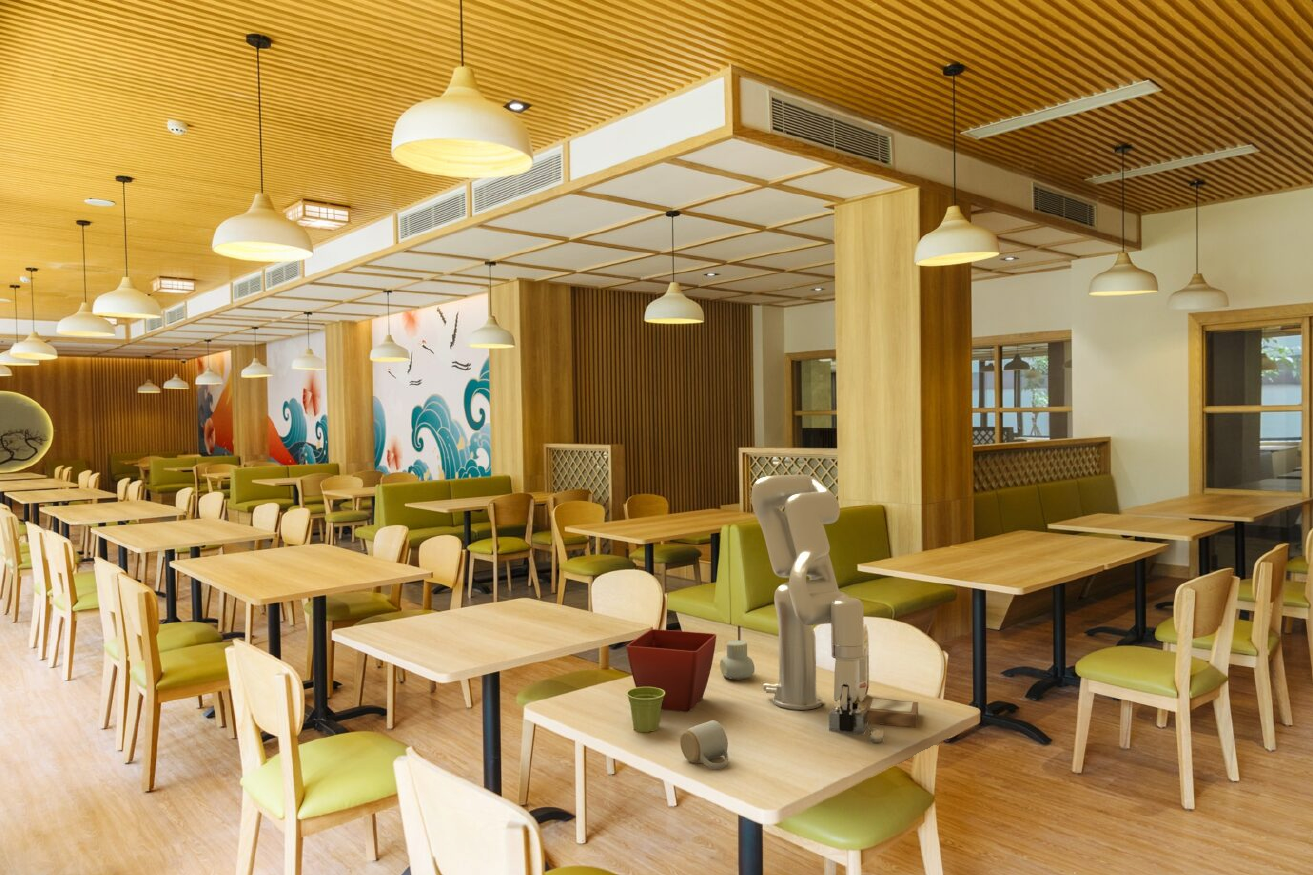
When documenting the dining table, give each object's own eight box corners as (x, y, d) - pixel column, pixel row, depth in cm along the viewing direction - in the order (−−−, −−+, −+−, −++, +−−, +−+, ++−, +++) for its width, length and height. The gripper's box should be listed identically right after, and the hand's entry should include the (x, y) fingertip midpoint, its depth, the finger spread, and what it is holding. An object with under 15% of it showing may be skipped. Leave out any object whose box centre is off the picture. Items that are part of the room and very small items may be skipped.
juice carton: (870, 694, 227) (869, 623, 227) (864, 703, 220) (863, 630, 219) (842, 690, 231) (841, 621, 230) (835, 700, 223) (834, 627, 223)
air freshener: (756, 681, 240) (756, 646, 240) (728, 683, 239) (728, 648, 239) (745, 671, 251) (745, 637, 251) (718, 672, 250) (718, 639, 250)
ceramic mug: (677, 758, 184) (677, 723, 184) (707, 749, 189) (707, 715, 189) (707, 774, 176) (707, 738, 176) (738, 765, 180) (738, 729, 180)
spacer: (869, 742, 192) (869, 732, 192) (870, 738, 195) (870, 727, 195) (882, 744, 191) (882, 733, 191) (884, 739, 194) (883, 729, 194)
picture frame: (864, 722, 205) (864, 708, 205) (868, 709, 215) (868, 696, 215) (916, 727, 201) (915, 713, 201) (918, 714, 211) (918, 701, 211)
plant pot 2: (697, 718, 210) (696, 650, 210) (625, 711, 216) (624, 645, 216) (718, 695, 228) (717, 633, 228) (651, 689, 234) (651, 628, 234)
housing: (829, 731, 200) (828, 710, 200) (833, 724, 205) (833, 703, 205) (863, 735, 197) (863, 714, 197) (867, 728, 201) (867, 707, 201)
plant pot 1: (671, 723, 206) (670, 688, 206) (658, 737, 197) (657, 700, 197) (635, 720, 209) (634, 685, 209) (621, 733, 200) (620, 696, 200)
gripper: (836, 640, 210) (837, 712, 210) (826, 658, 194) (827, 735, 194) (867, 642, 208) (868, 715, 208) (859, 661, 191) (860, 739, 191)
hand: (848, 724), depth 201 cm, fingers open, 7 cm apart
